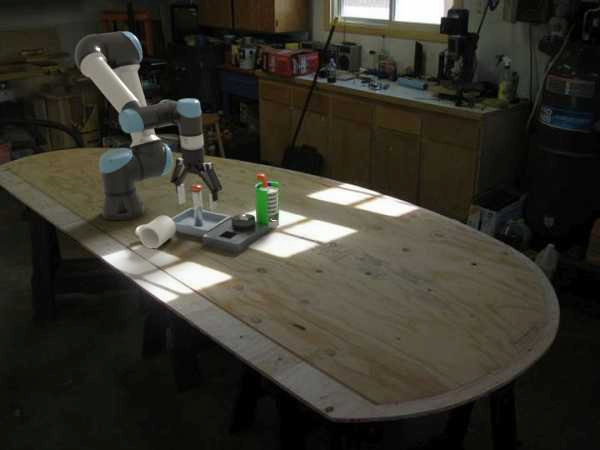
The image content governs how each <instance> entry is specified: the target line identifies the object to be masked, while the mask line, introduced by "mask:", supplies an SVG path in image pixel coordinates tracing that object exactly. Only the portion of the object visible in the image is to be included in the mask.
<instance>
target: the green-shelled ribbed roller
mask: <svg viewBox="0 0 600 450" xmlns="http://www.w3.org/2000/svg"><path fill="white" fill-rule="evenodd" d="M256 181H261V182H258V183H256V184H255V186H254V189H255V191H254V192H255V194H254V195H255V221H257V222H262V223H266V224H268V229H269V228H276V227H277V226H279V224H280V193H279V191H280V189H279V187H280V186H279V185H280V183H279V182H276V181H268V179H267V175H265V173H258V174H257V175H256ZM271 219H272V220H276V221H272V220H271Z"/></svg>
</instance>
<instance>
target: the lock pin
mask: <svg viewBox="0 0 600 450" xmlns="http://www.w3.org/2000/svg"><path fill="white" fill-rule="evenodd" d="M189 190H190V192H191V198H192V208H193V210H194V220H195V226H203V225H204V217H203V210H204V209H203V207H204V206H203V197H202V190H203V185H202V184H199V183H198V184H197V183H196V184H195V183H194V184H192V185H190V186H189Z"/></svg>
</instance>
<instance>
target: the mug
mask: <svg viewBox="0 0 600 450" xmlns="http://www.w3.org/2000/svg"><path fill="white" fill-rule="evenodd" d="M171 218H172V217H170V216H168V215H165V214H164V215H162V214H161V215H159V216H157V217H155V218H154V219H153V220H151V221H150V222H149V223H147V224H146V223H145V224H141V225H139V226H137V227H136V228H135V231H134V233H135V235H136V236H138V237H139V239H140V242H141V243H142V244H143V246H144V247H146V248H147V249H150V248H155V249H158V248H159V247H160V246H162V245H163V244H164V243H166V242H167V241H168V240H169V239H170V238H172V237H173V236H175V234H176V232H177V231H176V225H175V223H174V221H173V220H172V219H171ZM155 249H154V250H155Z"/></svg>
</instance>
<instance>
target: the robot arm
mask: <svg viewBox="0 0 600 450" xmlns="http://www.w3.org/2000/svg"><path fill="white" fill-rule="evenodd" d="M74 60H75V64H76V66H77V68H78V69H79V70H80V73H82V75H83V76H85V77H86V78H90V80H91V81H92V82H93V83H94V84H95V86H96V87H97V88H98V89H99V90H100V92H101V93H102V94H103V95H104V97H105V98H106V99H107V100H108V101H109V102H110V104H111V106H112V107H114V109H115V110H116V111H117V112H118V123H119V125H120V126H121V127H120V128H121V130H122V131H123V132H124V133H127V134H130V136H131V140H132V143H131V144H130V145H129V148H127V147H119V148H114V149H111V150H108V151H106V152H103V154H101V156H100V157H99V160H98V163H99V164H98V165H99V167H98V169H99V171H100V178H101V184H102V189H103V200H102V206H101V216H102V218H104V219H105V220H107V219H109V221H113V220H121V221H127V220H132V219H135V218H138V217H139V216H141V215H143V214H144V213H145V206H144V203H143V202H142V199H141V196H140V194H139V193H138V189H137V183H141V182H145V181H149V180H152V179H157V178H160V177H161V178H162V176H165V175H168V174H169V173H170V172H171V171H172V167H173V160H174V159H173V154H172V150H171V148H170V147H169V145H168V144H167V143H163V142H162V138H161V137H159V136H157V135H156V132H155V129H158V128H163V127H167V126H177V127H178V132H179V140H180V141H179V142H180V147H181V148H180V150H181V151H180V152H181V157H178V158H175V165H174V168H173V172H172V175H171V179H170V180H169V181H170V183H171V184H173V185H174V186H175V190H176V194H177V197H178V204H179V205H182V204H184V203H186V200H187V199H186V190H185V184H184V181H185V180H186V178H187V176H188V175H189V174H191V175H192V174H193V175H196V176H198V177H199V178H201V180H202V181H203V182H204V184H205V185H206V187H207V188H208V189H209V192H208V195H209V196H208V197H209V208H210V212H214V211H215V210H216V209H218V204H217V202H218V199H219V197H218V192H220V191H222V190H223V186H222V184H221V182H220V179H219V178H218V176H217V174H216V172H215V169H214V163H213V162H211V161H209V162H205V147H204V144H205V142H204V133H203V117H202V112H203V111H202V109H201V102H200V101H199V99H197V98H189V97H188V98H181V99H179V100H177V101H175V100H171V99H163V100H160V101H159V103H157V104H152V105H151V104H150V105H147V100H146V97H145V94H144V91H143V88H142V84H141V81H140V77H139V73H138V71H139V69H140V67H141V65H140V63H141V62H142V60H143V50H142V45H141V43H140V41H139V39H138V38H137V36H135V35H134V33H132V32H130V31H113V32H105V33H93V34H88V35H86V36H84V37H82V39H80V40H79V42H78V43H77V44H76V47H75V50H74ZM183 166H184V168H183ZM182 168H183V169H182Z"/></svg>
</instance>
